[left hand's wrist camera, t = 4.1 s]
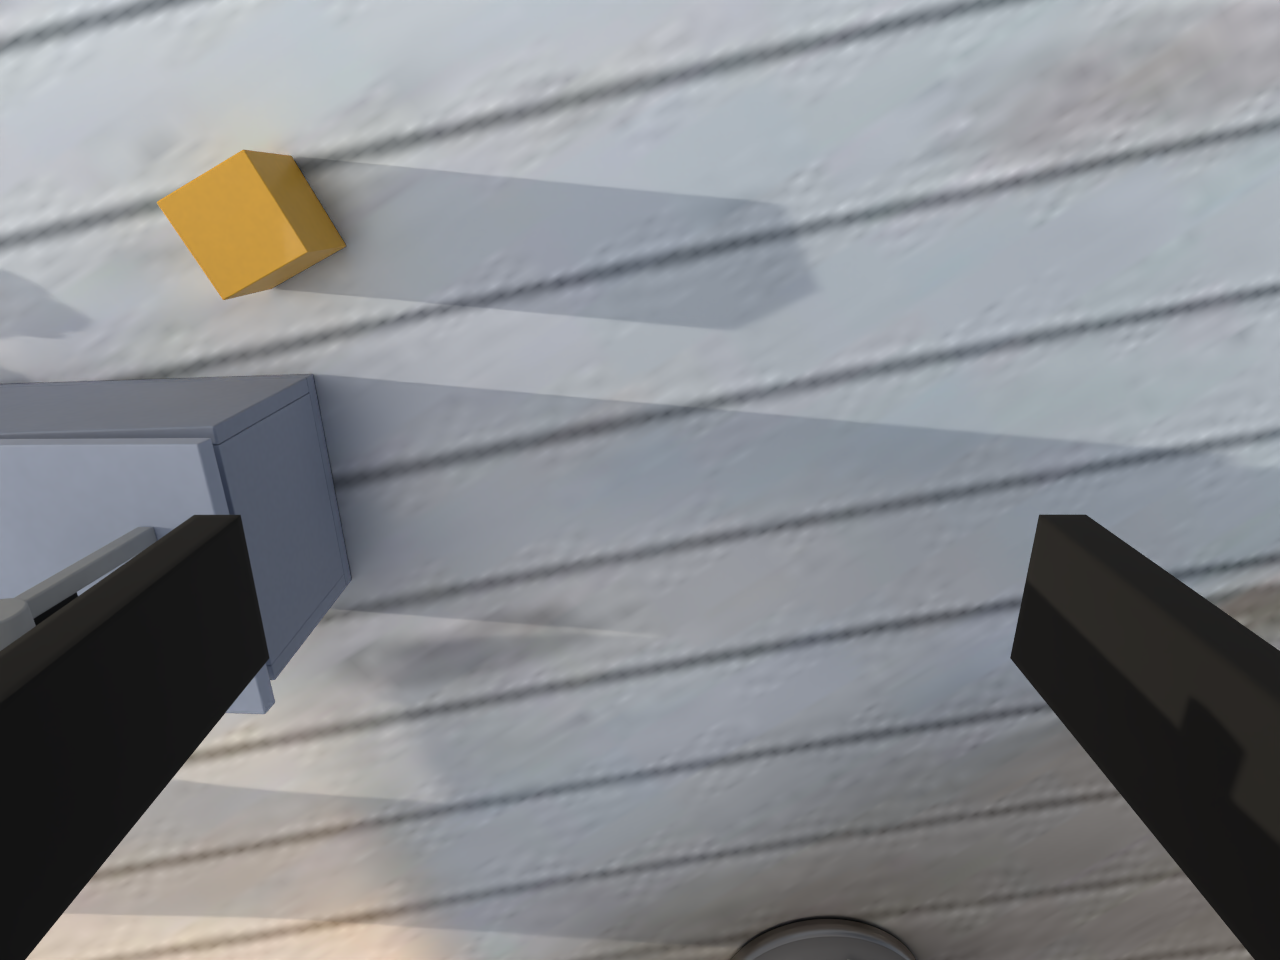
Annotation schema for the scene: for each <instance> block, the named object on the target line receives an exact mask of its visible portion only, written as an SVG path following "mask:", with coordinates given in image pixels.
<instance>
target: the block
mask: <svg viewBox="0 0 1280 960" xmlns="http://www.w3.org/2000/svg"><path fill="white" fill-rule="evenodd" d="M157 204H158V205H159V207H160V208H161V209H162V211H163V212H164V214H165V215H166V217H167V218H168V220H169V221H170V223H171V224H172V226H173V227H174V229H175V230H176V231H177V233H178V234H179V236H180V237H181V239H182V240H183V242H184V243H185V245H186V246H187V248H188V249H189V251H190V252H191V253H192V255H193V256H194V258H195V259H196V261H197V262H198V264H199V265H200V267H201V268H202V270H203V271H204V272H205V274H206V275H207V277H208V278H209V280H210V281H211V283H212V284H213V286H214V287H215V289H216V290H217V292H218V293H219V294H220V296H221V297H222V299H223V300H226V299H230V298H235V297H239V296H243V295H247V294H251V293H256V292H260V291H264V290H268V289H272V288H273V287H275V286H277V285H279V284H281V283H282V282H284V281H286V280H288V279H289V278H291V277H293V276H295V275H296V274H298V273H300V272H302V271H304V270H305V269H307V268H309V267H311V266H312V265H314V264H316V263H318V262H320V261H321V260H323V259H325V258H327V257H328V256H330V255H332V254H334V253H335V252H337V251H339V250H341V249H343V248H344V247H346V245H345V243H344V241H343V240H342V238H341V236H340V235H339V233H338V231H337V230H336V228H335V227H334V225H333V223H332V222H331V220H330V218H329V217H328V215H327V213H326V212H325V210H324V209H323V207H322V205H321V204H320V202H319V200H318V199H317V197H316V195H315V194H314V192H313V191H312V189H311V187H310V186H309V184H308V182H307V181H306V179H305V177H304V176H303V174H302V173H301V171H300V169H299V168H298V166H297V164H296V163H295V161H294V160H293V158H292V156H288V155H280V154H272V153H265V152H257V151H249V150H242V151H240V152H239V153H237V154H235V155H234V156H232V157H230V158H229V159H227V160H225V161H224V162H222V163H220V164H219V165H217V166H215V167H214V168H212V169H210V170H209V171H207V172H206V173H204V174H202V175H201V176H199V177H197V178H196V179H194V180H192V181H191V182H189V183H187V184H186V185H184V186H182V187H181V188H179V189H177V190H176V191H174V192H172V193H171V194H169V195H167V196H166V197H164V198H163V199H161V200H159V201H158V202H157Z"/></svg>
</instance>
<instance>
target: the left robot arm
mask: <svg viewBox="0 0 1280 960" xmlns="http://www.w3.org/2000/svg"><path fill="white" fill-rule="evenodd" d="M268 659H269V653H268V648H267V643H266V638H265V633H264V628H263V623H262V618H261V613H260V608H259V603H258V598H257V593H256V588H255V583H254V578H253V573H252V568H251V563H250V558H249V553H248V548H247V544H246V539H245V534H244V529H243V524H242V519H241V515H193V516H192V517H190V518H189V519H187V520H186V521H185V522H183V523H182V524H180V525H179V526H177V527H176V528H175V529H173V530H172V531H170V532H169V533H167V534H166V535H165V536H163V537H162V538H160V539H159V540H158V541H156V542H155V543H153V544H152V545H150V546H149V547H148V548H146V549H145V550H143V551H142V552H140V553H139V554H138V555H136V556H135V557H133V558H132V559H131V560H129V561H128V562H126V563H125V564H123V565H122V566H121V567H119V568H118V569H116V570H115V571H113V572H112V573H111V574H109V575H108V576H106V577H105V578H104V579H102V580H101V581H99V582H98V583H96V584H95V585H94V586H92V587H91V588H89V589H88V590H86V591H85V592H84V593H82V594H81V595H79V596H78V597H76V598H75V599H74V600H72V601H71V602H69V603H68V604H67V605H65V606H64V607H62V608H61V609H59V610H58V611H57V612H55V613H54V614H52V615H51V616H49V617H48V618H47V619H45V620H44V621H42V622H41V623H40V624H38V625H37V626H35V627H34V628H32V629H31V630H30V631H28V632H27V633H25V634H24V635H22V636H21V637H20V638H18V639H17V640H15V641H14V642H12V643H11V644H10V645H8V646H7V647H5V648H4V649H3V650H1V651H0V960H25V959H26V958H27V957H28V956H29V954H30V953H31V952H32V951H33V949H34V948H35V947H36V946H37V944H38V943H39V942H40V941H41V940H42V938H43V937H44V936H45V935H46V933H47V932H48V931H49V930H50V928H51V927H52V926H53V925H54V923H55V922H56V921H57V920H58V919H59V917H60V916H61V915H62V914H63V912H64V911H65V910H66V909H67V907H68V906H69V905H70V904H71V902H72V901H73V900H74V899H75V898H76V896H77V895H78V894H79V893H80V891H81V890H82V889H83V888H84V886H85V885H86V884H87V883H88V882H89V880H90V879H91V878H92V877H93V875H94V874H95V873H96V872H97V870H98V869H99V868H100V867H101V865H102V864H103V863H104V862H105V861H106V859H107V858H108V857H109V856H110V854H111V853H112V852H113V851H114V849H115V848H116V847H117V846H118V845H119V843H120V842H121V841H122V840H123V838H124V837H125V836H126V835H127V833H128V832H129V831H130V830H131V828H132V827H133V826H134V825H135V824H136V822H137V821H138V820H139V819H140V817H141V816H142V815H143V814H144V812H145V811H146V810H147V809H148V808H149V806H150V805H151V804H152V803H153V801H154V800H155V799H156V798H157V796H158V795H159V794H160V793H161V791H162V790H163V789H164V788H165V787H166V785H167V784H168V783H169V782H170V780H171V779H172V778H173V777H174V775H175V774H176V773H177V772H178V771H179V769H180V768H181V767H182V766H183V764H184V763H185V762H186V761H187V759H188V758H189V757H190V756H191V754H192V753H193V752H194V751H195V750H196V748H197V747H198V746H199V745H200V743H201V742H202V741H203V740H204V738H205V737H206V736H207V735H208V733H209V732H210V731H211V730H212V729H213V727H214V726H215V725H216V724H217V722H218V721H219V720H220V719H221V717H222V716H223V715H224V714H225V713H226V711H227V710H228V709H229V708H230V706H231V705H232V704H233V703H234V701H235V700H236V699H237V698H238V696H239V695H240V694H241V693H242V692H243V690H244V689H245V688H246V687H247V685H248V684H249V683H250V682H251V680H252V679H253V678H254V677H255V676H256V674H257V673H258V672H259V671H260V669H261V668H262V667H263V666H264V664H265V663H266V662H267V661H268ZM1011 659H1012V661H1013V662H1014V663H1015V664H1016V666H1017V667H1018V668H1019V669H1020V671H1021V672H1022V673H1023V674H1024V676H1025V677H1026V678H1027V679H1028V680H1029V682H1030V683H1031V684H1032V685H1033V687H1034V688H1035V689H1036V690H1037V692H1038V693H1039V694H1040V695H1041V696H1042V698H1043V699H1044V700H1045V701H1046V703H1047V704H1048V705H1049V706H1050V708H1051V709H1052V710H1053V711H1054V713H1055V714H1056V715H1057V716H1058V717H1059V719H1060V720H1061V721H1062V722H1063V724H1064V725H1065V726H1066V727H1067V729H1068V730H1069V731H1070V732H1071V734H1072V735H1073V736H1074V737H1075V738H1076V740H1077V741H1078V742H1079V743H1080V745H1081V746H1082V747H1083V748H1084V750H1085V751H1086V752H1087V753H1088V754H1089V756H1090V757H1091V758H1092V759H1093V761H1094V762H1095V763H1096V764H1097V766H1098V767H1099V768H1100V769H1101V771H1102V772H1103V773H1104V774H1105V775H1106V777H1107V778H1108V779H1109V780H1110V782H1111V783H1112V784H1113V785H1114V787H1115V788H1116V789H1117V790H1118V791H1119V793H1120V794H1121V795H1122V796H1123V798H1124V799H1125V800H1126V801H1127V803H1128V804H1129V805H1130V806H1131V808H1132V809H1133V810H1134V811H1135V812H1136V814H1137V815H1138V816H1139V817H1140V819H1141V820H1142V821H1143V822H1144V824H1145V825H1146V826H1147V827H1148V828H1149V830H1150V831H1151V832H1152V833H1153V835H1154V836H1155V837H1156V838H1157V840H1158V841H1159V842H1160V843H1161V845H1162V846H1163V847H1164V848H1165V849H1166V851H1167V852H1168V853H1169V854H1170V856H1171V857H1172V858H1173V859H1174V861H1175V862H1176V863H1177V864H1178V865H1179V867H1180V868H1181V869H1182V870H1183V872H1184V873H1185V874H1186V875H1187V877H1188V878H1189V879H1190V880H1191V882H1192V883H1193V884H1194V885H1195V886H1196V888H1197V889H1198V890H1199V891H1200V893H1201V894H1202V895H1203V896H1204V898H1205V899H1206V900H1207V901H1208V902H1209V904H1210V905H1211V906H1212V907H1213V909H1214V910H1215V911H1216V912H1217V914H1218V915H1219V916H1220V917H1221V919H1222V920H1223V921H1224V922H1225V923H1226V925H1227V926H1228V927H1229V928H1230V930H1231V931H1232V932H1233V933H1234V935H1235V936H1236V937H1237V938H1238V940H1239V941H1240V942H1241V943H1242V944H1243V946H1244V947H1245V948H1246V949H1247V951H1248V952H1249V953H1250V954H1251V956H1252V957H1253V958H1254V959H1255V960H1280V651H1279V650H1277V649H1276V648H1275V647H1273V646H1272V645H1270V644H1269V643H1268V642H1266V641H1265V640H1263V639H1262V638H1260V637H1259V636H1258V635H1256V634H1255V633H1253V632H1252V631H1250V630H1249V629H1248V628H1246V627H1245V626H1243V625H1242V624H1240V623H1239V622H1238V621H1236V620H1235V619H1233V618H1232V617H1231V616H1229V615H1228V614H1226V613H1225V612H1223V611H1222V610H1221V609H1219V608H1218V607H1216V606H1215V605H1213V604H1212V603H1211V602H1209V601H1208V600H1206V599H1205V598H1204V597H1202V596H1201V595H1199V594H1198V593H1196V592H1195V591H1194V590H1192V589H1191V588H1189V587H1188V586H1186V585H1185V584H1184V583H1182V582H1181V581H1179V580H1178V579H1176V578H1175V577H1174V576H1172V575H1171V574H1169V573H1168V572H1167V571H1165V570H1164V569H1162V568H1161V567H1159V566H1158V565H1157V564H1155V563H1154V562H1152V561H1151V560H1149V559H1148V558H1147V557H1145V556H1144V555H1142V554H1141V553H1140V552H1138V551H1137V550H1135V549H1134V548H1132V547H1131V546H1130V545H1128V544H1127V543H1125V542H1124V541H1122V540H1121V539H1120V538H1118V537H1117V536H1115V535H1114V534H1113V533H1111V532H1110V531H1108V530H1107V529H1105V528H1104V527H1103V526H1101V525H1100V524H1098V523H1097V522H1095V521H1094V520H1093V519H1091V518H1090V517H1088V516H1087V515H1039V519H1038V524H1037V529H1036V534H1035V539H1034V544H1033V548H1032V553H1031V558H1030V563H1029V568H1028V573H1027V578H1026V583H1025V588H1024V593H1023V598H1022V603H1021V608H1020V613H1019V618H1018V623H1017V628H1016V633H1015V638H1014V643H1013V648H1012V653H1011ZM731 960H916V959H915V958H914V956H913V955H912V953H911V952H910V951H909V950H908V948H907V947H906V946H905V945H904V944H902V943H901V942H900V941H899V940H897V939H896V938H895V937H893V936H892V935H890V934H888V933H887V932H885V931H882V930H880V929H878V928H876V927H873V926H870V925H867V924H863V923H860V922H855V921H849V920H841V919H816V920H807V921H801V922H796V923H792V924H788V925H785V926H782V927H779V928H776V929H773V930H771V931H769V932H767V933H765V934H763V935H761V936H759V937H757V938H756V939H754V940H752V941H751V942H749V943H748V944H747V945H745V946H744V947H743V948H742V949H741V950H740V951H738V952H737V953H736V954H735V955H734V957H733V958H732V959H731Z"/></svg>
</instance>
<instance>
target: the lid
mask: <svg viewBox="0 0 1280 960" xmlns="http://www.w3.org/2000/svg"><path fill="white" fill-rule="evenodd" d="M193 515H229V510H228V506H227V502H226V498H225V494H224V490H223V486H222V482H221V477H220V473H219V469H218V465H217V461H216V457H215V453H214V449H213V445H212V440H211V438H111V439H0V651H1V650H3V649H4V648H5V647H7V646H8V645H10V644H11V643H12V642H14V641H15V640H17V639H18V638H20V637H21V636H22V635H24V634H25V633H27V632H28V631H30V630H31V629H32V628H34V627H35V626H36V625H35V622H34V618H35V617H37V616H39V615H40V614H42V613H44V612H45V611H47V610H48V609H50V608H52V607H53V606H55V605H57V604H58V603H60V602H61V601H63V600H65V599H66V598H68V597H69V596H71V595H73V594H74V593H76V592H77V595H78V596H79V595H81V594H82V593H84V592H85V591H86V590H88V589H89V588H91V587H92V586H94V585H95V584H96V583H98V582H99V581H101V580H102V579H104V578H105V577H106V576H108V575H109V574H111V573H112V572H113V571H115V570H116V569H118V568H119V567H121V566H122V565H123V564H125V563H126V562H128V561H129V560H131V559H132V558H133V557H135V556H136V555H138V554H139V553H140V552H142V551H143V550H145V549H146V548H148V547H149V546H150V545H152V544H153V543H155V542H156V541H158V540H159V539H160V538H162V537H163V536H165V535H166V534H167V533H169V532H170V531H172V530H173V529H175V528H176V527H177V526H179V525H180V524H182V523H183V522H185V521H186V520H187V519H189V518H190V517H192V516H193ZM274 703H275V700H274V695H273V691H272V687H271V683H270V679H269V675H268V671H267V667H266V663H265V664H264V666H263V667H262V668H261V669H260V671H259V672H258V673H257V674H256V676H255V677H254V678H253V679H252V680H251V682H250V683H249V684H248V685H247V687H246V688H245V689H244V690H243V692H242V693H241V694H240V695H239V696H238V698H237V699H236V700H235V701H234V703H233V704H232V705H231V706H230V708H229V709H228V710H227V711H226V713H246V714H265V713H266V712H267V711H268V710H269V709H270V708H271V707H272V706H273V704H274Z"/></svg>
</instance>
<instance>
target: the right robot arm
mask: <svg viewBox="0 0 1280 960" xmlns="http://www.w3.org/2000/svg"><path fill="white" fill-rule="evenodd" d="M76 597H78V595H77V592H76V593H74V594H73V595H71V596H69V597H68V598H66V599H65V600H63V601H61V602H60V603H58V604H57V605H55V606H53V607H52V608H50V609H48V610H47V611H45V612H44V613H42V614H40V615H39V616H37V617H35V618H34V622H35V625H36V626H37V625H38V624H40V623H41V622H42V621H44V620H45V619H47V618H48V617H49V616H51V615H52V614H54V613H55V612H57V611H58V610H59V609H61V608H62V607H64V606H65V605H67V604H68V603H69V602H71V601H72V600H74V599H75V598H76Z"/></svg>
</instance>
